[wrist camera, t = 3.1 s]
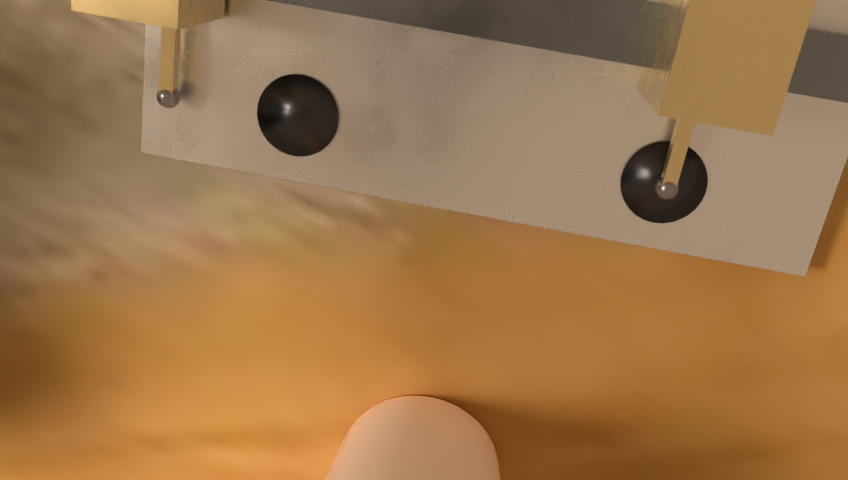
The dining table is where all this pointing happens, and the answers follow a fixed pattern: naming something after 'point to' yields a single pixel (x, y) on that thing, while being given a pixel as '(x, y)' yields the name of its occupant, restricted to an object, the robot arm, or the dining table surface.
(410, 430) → the candle holder
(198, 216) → the dining table surface
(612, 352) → the dining table surface
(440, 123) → the bolt plate
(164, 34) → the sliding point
